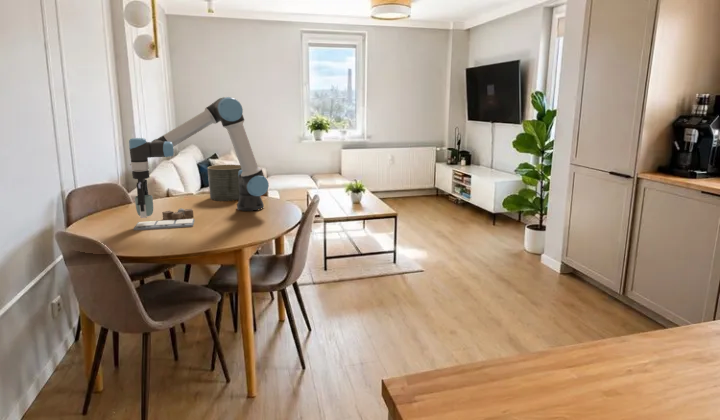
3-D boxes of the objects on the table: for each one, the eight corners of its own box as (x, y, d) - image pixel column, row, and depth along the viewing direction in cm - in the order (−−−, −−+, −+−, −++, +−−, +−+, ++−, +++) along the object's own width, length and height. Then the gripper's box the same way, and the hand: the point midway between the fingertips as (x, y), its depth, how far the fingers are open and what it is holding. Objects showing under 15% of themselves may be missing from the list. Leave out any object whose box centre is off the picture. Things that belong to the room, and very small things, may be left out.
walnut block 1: (169, 217, 244) (169, 210, 243) (174, 219, 242) (173, 211, 241) (163, 219, 241) (162, 212, 240) (167, 220, 238) (166, 213, 237)
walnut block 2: (183, 219, 240) (182, 212, 239) (179, 221, 237) (179, 214, 236) (176, 219, 241) (175, 212, 240) (172, 221, 237) (171, 213, 236)
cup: (147, 218, 222) (145, 198, 220) (133, 217, 224) (131, 197, 221) (157, 214, 230) (155, 195, 227) (143, 213, 231) (141, 194, 229)
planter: (248, 194, 305) (246, 164, 300) (241, 201, 284) (239, 169, 279) (214, 194, 304) (212, 164, 299) (205, 201, 282) (203, 169, 278)
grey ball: (186, 214, 251) (185, 207, 250) (185, 216, 247) (184, 209, 246) (178, 214, 250) (177, 207, 249) (177, 216, 246) (176, 209, 245)
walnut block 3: (192, 215, 248) (191, 208, 247) (193, 217, 245) (192, 210, 244) (184, 216, 246) (183, 209, 245) (185, 218, 243) (185, 211, 242)
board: (194, 220, 238) (194, 218, 238) (192, 226, 227) (192, 224, 226) (138, 224, 231) (138, 221, 231) (133, 230, 220) (133, 228, 219)
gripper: (136, 167, 230) (140, 211, 235) (127, 173, 211) (132, 221, 216) (152, 167, 232) (156, 210, 237) (145, 173, 213) (149, 220, 218)
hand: (145, 215), depth 227 cm, fingers closed on cup, 8 cm apart
